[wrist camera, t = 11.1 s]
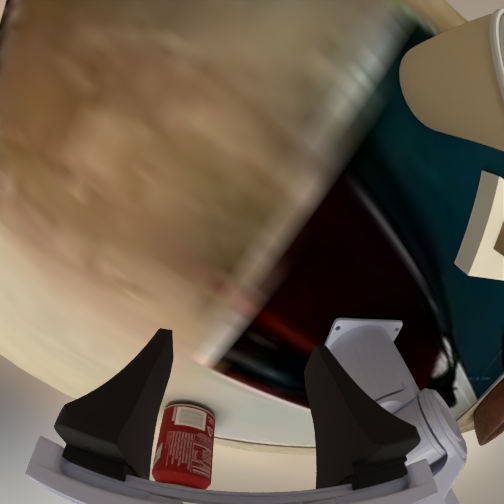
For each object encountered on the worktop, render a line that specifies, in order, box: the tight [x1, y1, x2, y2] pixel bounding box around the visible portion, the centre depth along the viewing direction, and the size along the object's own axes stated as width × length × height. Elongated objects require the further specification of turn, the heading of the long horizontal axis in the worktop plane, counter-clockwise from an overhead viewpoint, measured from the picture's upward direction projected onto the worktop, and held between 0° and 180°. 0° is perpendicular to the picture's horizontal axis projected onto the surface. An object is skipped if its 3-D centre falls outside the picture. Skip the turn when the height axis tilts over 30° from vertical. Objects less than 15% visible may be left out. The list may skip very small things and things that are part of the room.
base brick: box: [454, 171, 504, 280], centre depth 19 cm, size 10×10×3 cm
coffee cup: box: [399, 8, 504, 151], centre depth 10 cm, size 9×9×12 cm
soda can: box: [152, 404, 215, 490], centre depth 25 cm, size 7×7×12 cm
